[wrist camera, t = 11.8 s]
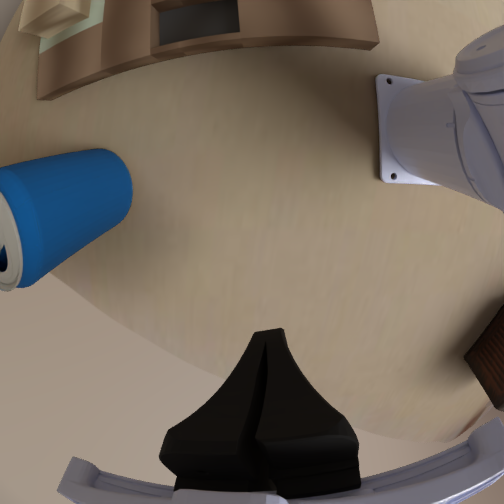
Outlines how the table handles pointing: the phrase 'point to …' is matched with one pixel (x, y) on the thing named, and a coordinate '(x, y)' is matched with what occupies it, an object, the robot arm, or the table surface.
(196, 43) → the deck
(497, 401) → the coffee grinder
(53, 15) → the block
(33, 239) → the beverage can
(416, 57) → the table surface
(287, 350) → the robot arm
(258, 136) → the table surface
